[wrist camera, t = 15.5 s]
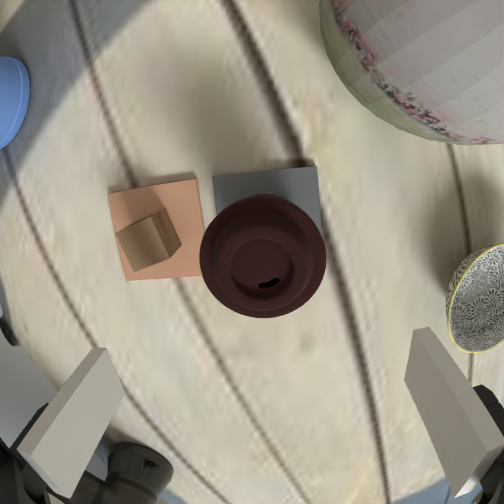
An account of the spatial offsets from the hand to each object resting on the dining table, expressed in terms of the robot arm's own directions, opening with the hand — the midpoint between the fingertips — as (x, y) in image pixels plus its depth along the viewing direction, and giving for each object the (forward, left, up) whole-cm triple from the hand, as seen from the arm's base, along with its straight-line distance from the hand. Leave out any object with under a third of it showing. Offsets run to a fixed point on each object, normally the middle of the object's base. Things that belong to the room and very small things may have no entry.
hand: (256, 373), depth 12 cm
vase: (+17, +19, -27) cm, 37 cm away
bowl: (+29, -11, -27) cm, 41 cm away
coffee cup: (0, 0, -27) cm, 27 cm away
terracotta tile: (-14, 0, -27) cm, 30 cm away
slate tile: (0, 0, -27) cm, 27 cm away
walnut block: (-14, 0, -26) cm, 30 cm away
